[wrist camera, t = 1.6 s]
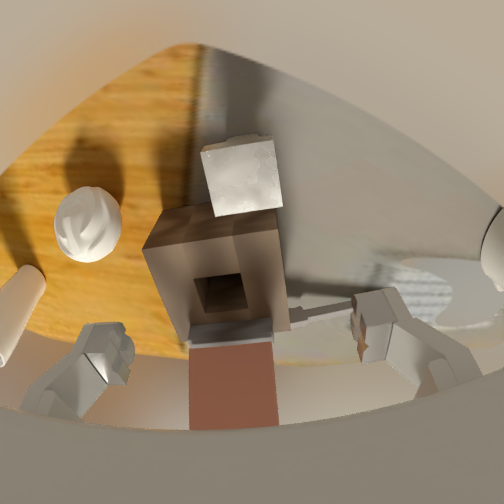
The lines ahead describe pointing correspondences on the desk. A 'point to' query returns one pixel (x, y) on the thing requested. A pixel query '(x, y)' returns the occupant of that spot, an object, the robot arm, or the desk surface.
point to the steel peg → (242, 174)
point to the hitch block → (219, 275)
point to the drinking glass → (18, 306)
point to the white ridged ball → (88, 224)
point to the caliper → (318, 313)
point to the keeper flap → (232, 387)
